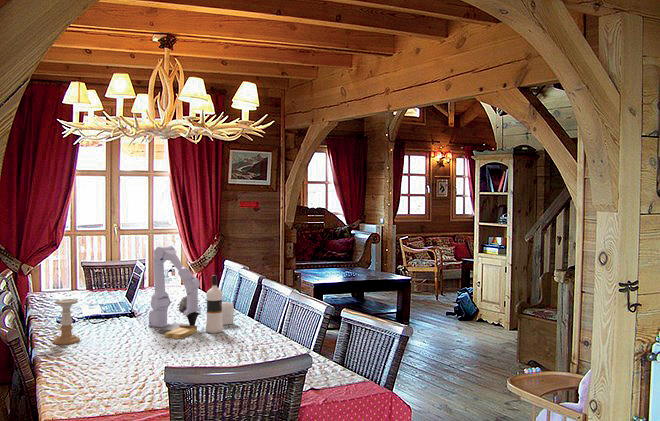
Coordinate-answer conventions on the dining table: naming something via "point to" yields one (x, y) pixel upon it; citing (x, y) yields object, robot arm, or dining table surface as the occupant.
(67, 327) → the candle holder
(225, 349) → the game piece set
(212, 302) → the vodka
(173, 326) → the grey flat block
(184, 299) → the mineral rock
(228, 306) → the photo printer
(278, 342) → the dining table surface
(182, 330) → the tan wooden flat block
